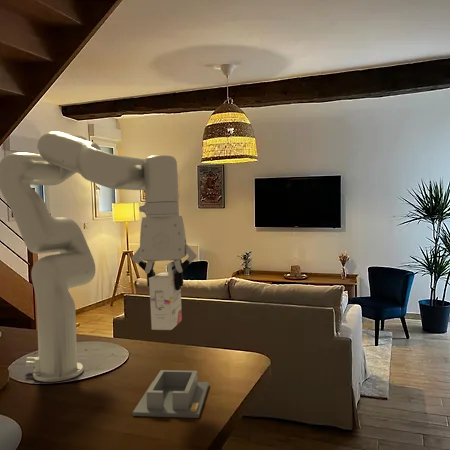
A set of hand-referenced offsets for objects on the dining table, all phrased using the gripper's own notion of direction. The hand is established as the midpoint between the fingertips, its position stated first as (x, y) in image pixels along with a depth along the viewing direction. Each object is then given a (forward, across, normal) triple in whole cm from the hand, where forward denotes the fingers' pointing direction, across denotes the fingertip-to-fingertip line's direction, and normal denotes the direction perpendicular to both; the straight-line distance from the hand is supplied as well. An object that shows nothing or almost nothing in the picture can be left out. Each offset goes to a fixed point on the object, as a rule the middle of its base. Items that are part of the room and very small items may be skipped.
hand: (165, 288), depth 104 cm
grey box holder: (+25, +1, -1) cm, 25 cm away
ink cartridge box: (+9, 0, 0) cm, 9 cm away
